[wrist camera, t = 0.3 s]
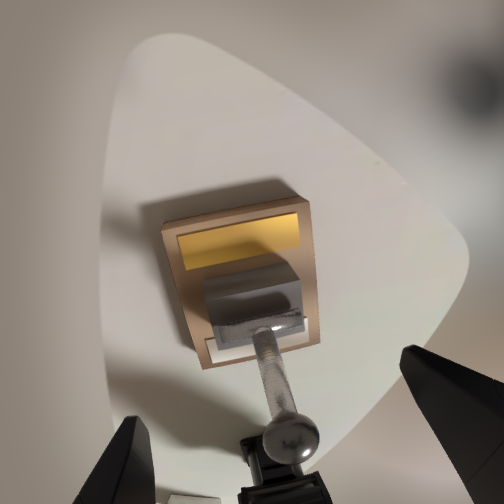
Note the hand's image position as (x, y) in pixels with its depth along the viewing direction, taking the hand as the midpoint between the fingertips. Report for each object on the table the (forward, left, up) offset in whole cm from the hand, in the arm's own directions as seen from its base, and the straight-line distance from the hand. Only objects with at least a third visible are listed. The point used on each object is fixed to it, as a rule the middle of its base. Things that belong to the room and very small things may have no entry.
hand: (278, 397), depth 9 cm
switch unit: (-4, -1, -15) cm, 16 cm away
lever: (-4, -1, -9) cm, 10 cm away
